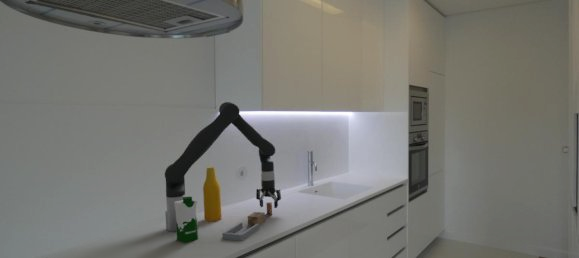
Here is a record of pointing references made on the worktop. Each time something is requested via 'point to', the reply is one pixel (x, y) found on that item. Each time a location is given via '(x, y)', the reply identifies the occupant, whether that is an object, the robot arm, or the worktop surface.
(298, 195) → the worktop surface
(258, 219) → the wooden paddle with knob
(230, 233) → the lane
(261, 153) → the robot arm
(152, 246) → the worktop surface
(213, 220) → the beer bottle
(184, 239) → the milk carton
